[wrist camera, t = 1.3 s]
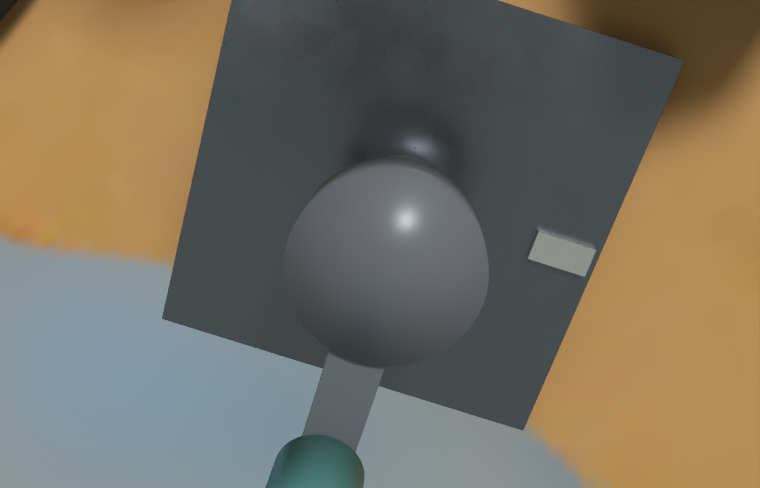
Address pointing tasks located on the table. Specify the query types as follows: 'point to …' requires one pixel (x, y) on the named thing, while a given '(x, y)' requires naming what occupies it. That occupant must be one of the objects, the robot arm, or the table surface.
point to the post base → (436, 106)
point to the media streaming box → (5, 6)
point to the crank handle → (375, 297)
